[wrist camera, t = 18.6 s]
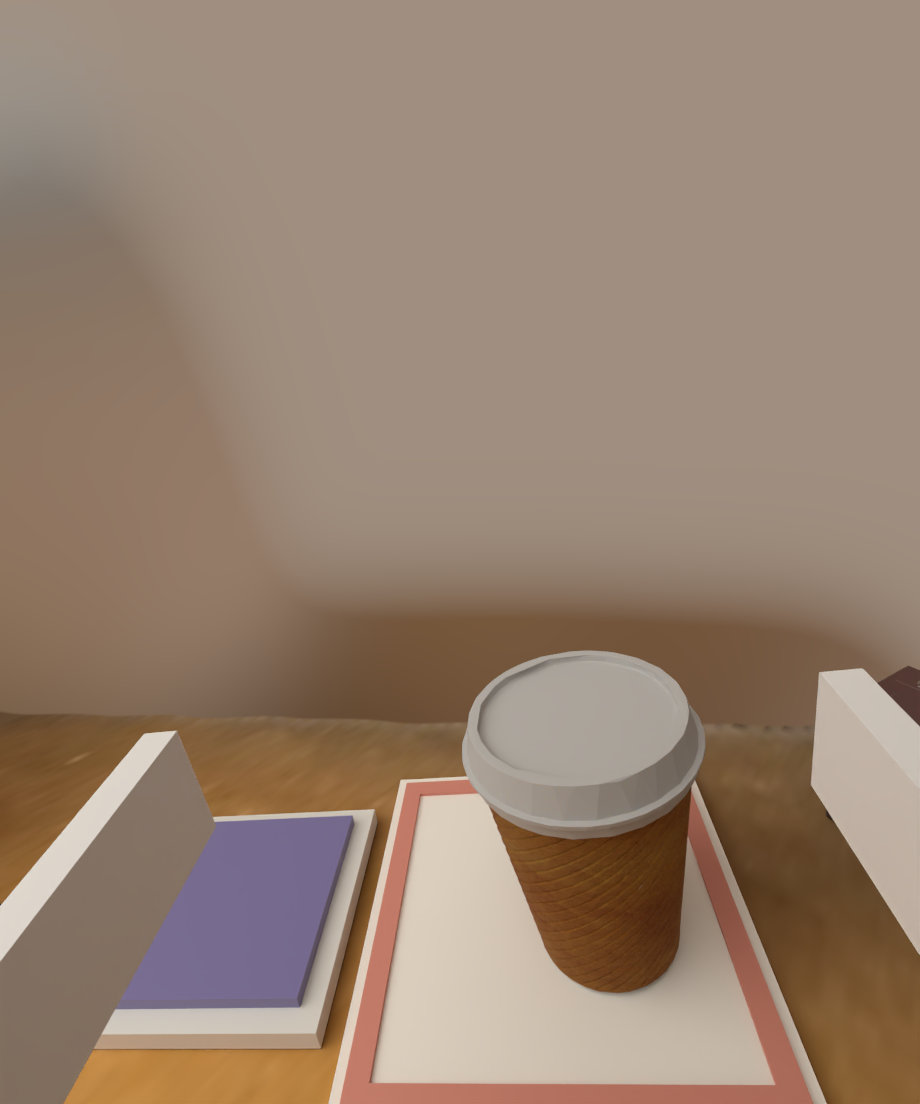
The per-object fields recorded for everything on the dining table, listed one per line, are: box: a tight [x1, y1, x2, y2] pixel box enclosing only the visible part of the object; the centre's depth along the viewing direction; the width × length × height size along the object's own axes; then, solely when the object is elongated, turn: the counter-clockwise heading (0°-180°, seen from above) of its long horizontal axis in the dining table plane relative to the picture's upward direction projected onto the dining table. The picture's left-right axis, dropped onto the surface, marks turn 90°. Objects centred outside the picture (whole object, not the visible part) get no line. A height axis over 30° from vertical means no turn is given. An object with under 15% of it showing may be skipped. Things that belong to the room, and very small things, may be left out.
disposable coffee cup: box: [462, 651, 705, 993], centre depth 26 cm, size 10×10×12 cm
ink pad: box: [94, 809, 378, 1049], centre depth 31 cm, size 12×12×2 cm
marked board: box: [329, 777, 827, 1104], centre depth 29 cm, size 18×18×1 cm
